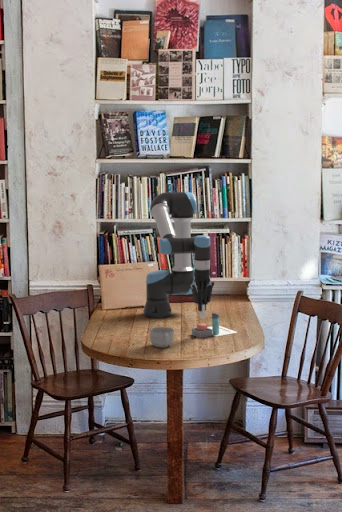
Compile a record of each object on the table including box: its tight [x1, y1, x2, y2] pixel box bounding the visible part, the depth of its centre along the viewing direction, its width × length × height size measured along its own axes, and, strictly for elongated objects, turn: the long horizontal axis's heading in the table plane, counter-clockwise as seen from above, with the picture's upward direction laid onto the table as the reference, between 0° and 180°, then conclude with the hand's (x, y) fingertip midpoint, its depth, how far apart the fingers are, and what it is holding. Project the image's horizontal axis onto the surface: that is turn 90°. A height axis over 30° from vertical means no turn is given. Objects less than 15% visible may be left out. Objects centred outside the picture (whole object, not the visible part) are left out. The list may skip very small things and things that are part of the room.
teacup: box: [149, 326, 175, 349], centre depth 333 cm, size 14×11×8 cm
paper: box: [207, 325, 239, 338], centre depth 360 cm, size 16×13×1 cm
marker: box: [211, 312, 220, 335], centre depth 354 cm, size 3×3×10 cm
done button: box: [196, 323, 208, 331], centre depth 352 cm, size 5×5×3 cm
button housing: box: [191, 327, 213, 339], centre depth 353 cm, size 7×7×3 cm
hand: (202, 317), depth 351 cm, fingers closed
